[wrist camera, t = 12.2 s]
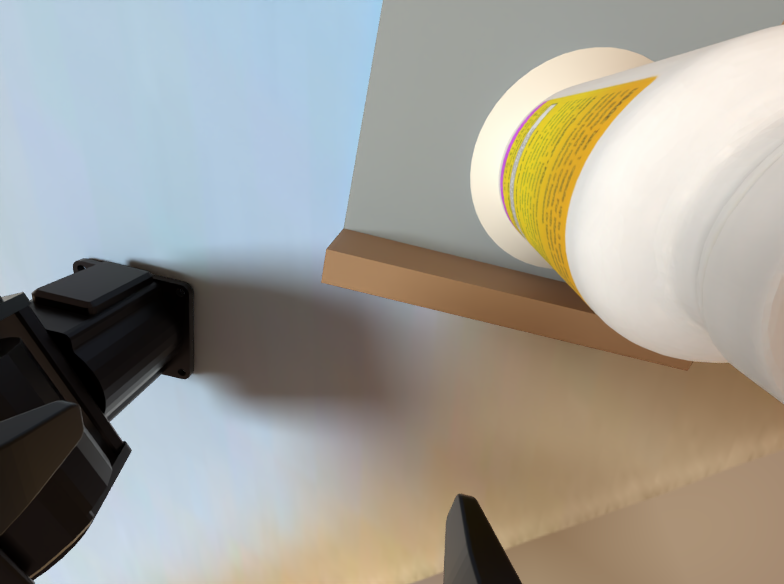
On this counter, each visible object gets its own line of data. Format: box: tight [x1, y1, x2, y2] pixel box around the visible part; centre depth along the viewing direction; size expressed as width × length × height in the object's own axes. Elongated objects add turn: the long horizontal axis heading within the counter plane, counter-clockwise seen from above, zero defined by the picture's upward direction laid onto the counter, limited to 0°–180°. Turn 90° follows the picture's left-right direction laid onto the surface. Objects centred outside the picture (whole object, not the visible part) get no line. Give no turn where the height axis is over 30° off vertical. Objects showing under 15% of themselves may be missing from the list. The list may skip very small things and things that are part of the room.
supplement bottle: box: [498, 25, 784, 404], centre depth 10 cm, size 7×7×13 cm
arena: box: [321, 0, 784, 371], centre depth 15 cm, size 14×16×4 cm
